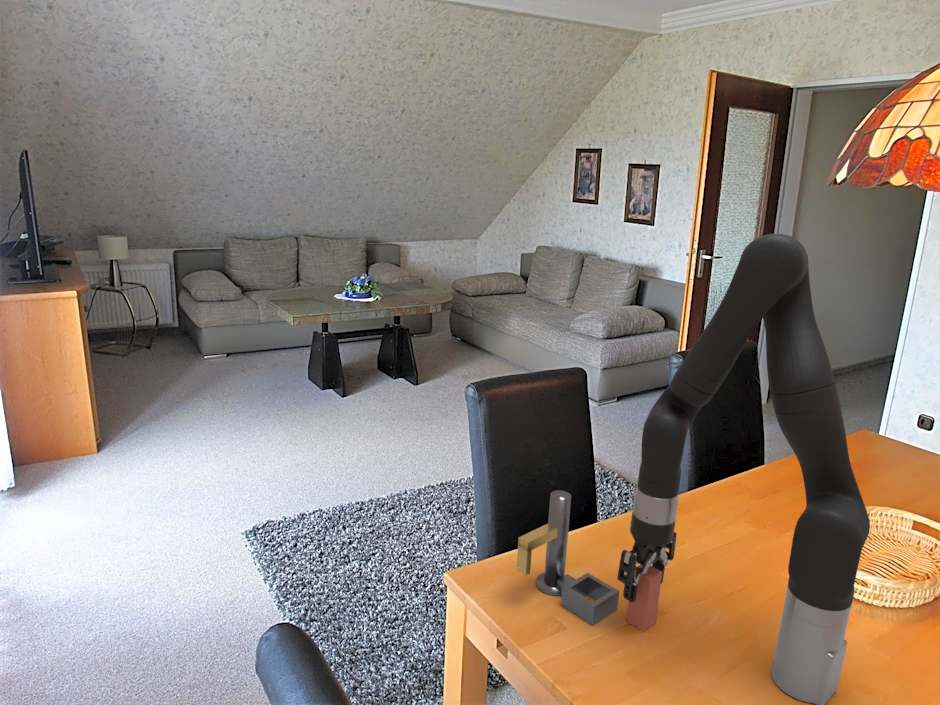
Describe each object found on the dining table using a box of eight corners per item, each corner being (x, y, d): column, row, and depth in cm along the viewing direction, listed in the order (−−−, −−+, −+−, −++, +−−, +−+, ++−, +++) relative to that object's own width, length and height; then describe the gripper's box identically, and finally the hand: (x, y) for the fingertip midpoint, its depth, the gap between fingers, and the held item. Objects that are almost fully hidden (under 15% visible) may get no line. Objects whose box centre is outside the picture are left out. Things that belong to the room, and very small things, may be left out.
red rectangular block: (655, 623, 125) (662, 571, 122) (643, 632, 123) (650, 579, 120) (638, 613, 128) (644, 562, 125) (626, 621, 125) (632, 569, 122)
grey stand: (617, 609, 129) (627, 515, 124) (570, 640, 120) (579, 540, 115) (552, 570, 140) (559, 483, 135) (506, 596, 131) (511, 503, 126)
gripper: (649, 534, 112) (637, 617, 117) (694, 508, 121) (682, 586, 126) (612, 515, 118) (602, 595, 122) (658, 492, 127) (648, 567, 131)
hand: (643, 590), depth 124 cm, fingers open, 8 cm apart
